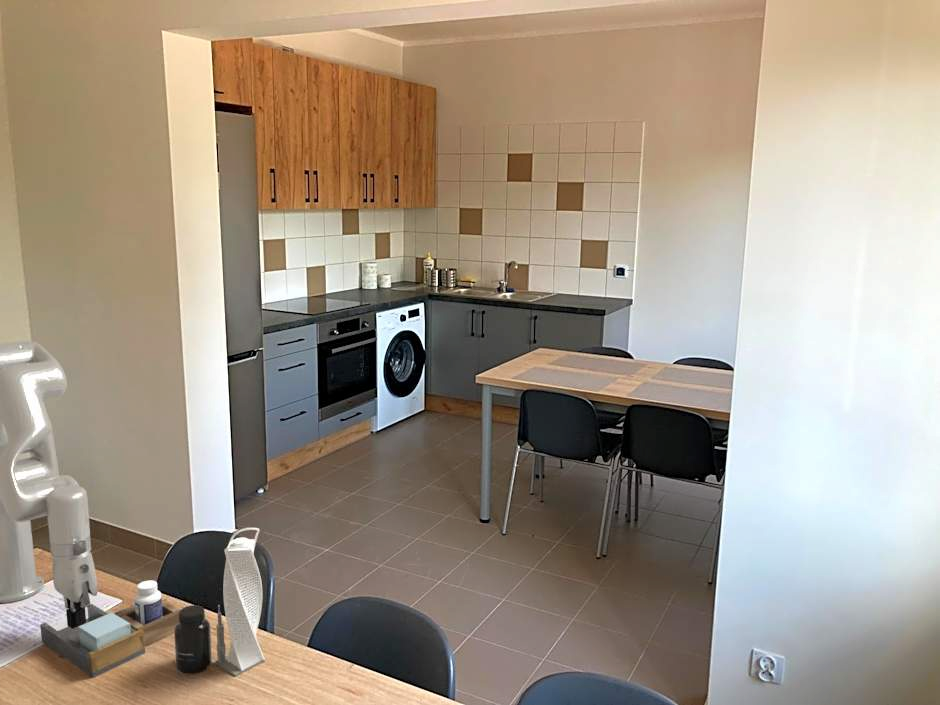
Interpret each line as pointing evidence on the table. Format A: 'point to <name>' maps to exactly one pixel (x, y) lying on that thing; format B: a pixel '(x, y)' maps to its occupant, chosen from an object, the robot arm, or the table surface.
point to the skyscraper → (240, 607)
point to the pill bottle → (148, 602)
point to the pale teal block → (103, 631)
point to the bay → (99, 659)
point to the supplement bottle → (192, 640)
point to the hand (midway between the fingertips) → (76, 624)
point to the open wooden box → (153, 622)
